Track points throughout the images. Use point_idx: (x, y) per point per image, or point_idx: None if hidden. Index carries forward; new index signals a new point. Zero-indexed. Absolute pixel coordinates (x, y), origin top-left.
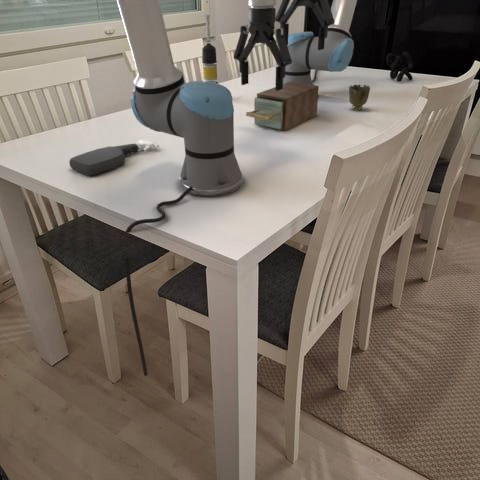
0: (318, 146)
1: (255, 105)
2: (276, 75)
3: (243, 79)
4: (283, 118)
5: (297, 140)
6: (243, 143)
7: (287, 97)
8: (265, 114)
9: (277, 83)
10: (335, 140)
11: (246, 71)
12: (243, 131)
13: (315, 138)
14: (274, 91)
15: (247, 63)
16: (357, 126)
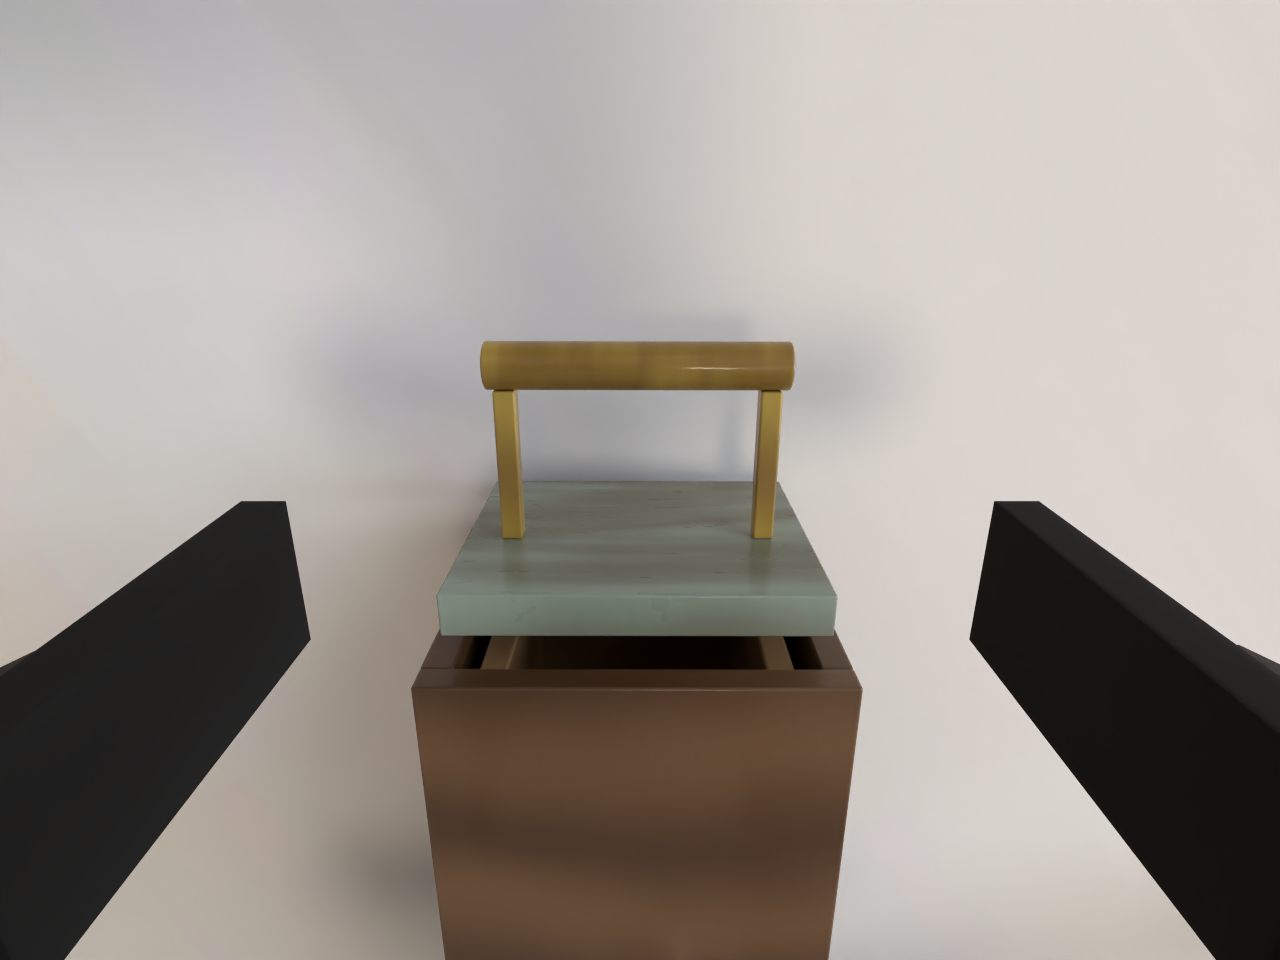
0: (33, 361)
1: (801, 555)
2: (95, 640)
3: (1044, 553)
4: None
5: (258, 387)
6: (583, 11)
7: (436, 736)
8: (658, 523)
9: (171, 553)
10: (46, 553)
11: (1103, 732)
12: (787, 311)
13: (186, 508)
14: (725, 854)
15: (1223, 924)
16: (152, 868)
